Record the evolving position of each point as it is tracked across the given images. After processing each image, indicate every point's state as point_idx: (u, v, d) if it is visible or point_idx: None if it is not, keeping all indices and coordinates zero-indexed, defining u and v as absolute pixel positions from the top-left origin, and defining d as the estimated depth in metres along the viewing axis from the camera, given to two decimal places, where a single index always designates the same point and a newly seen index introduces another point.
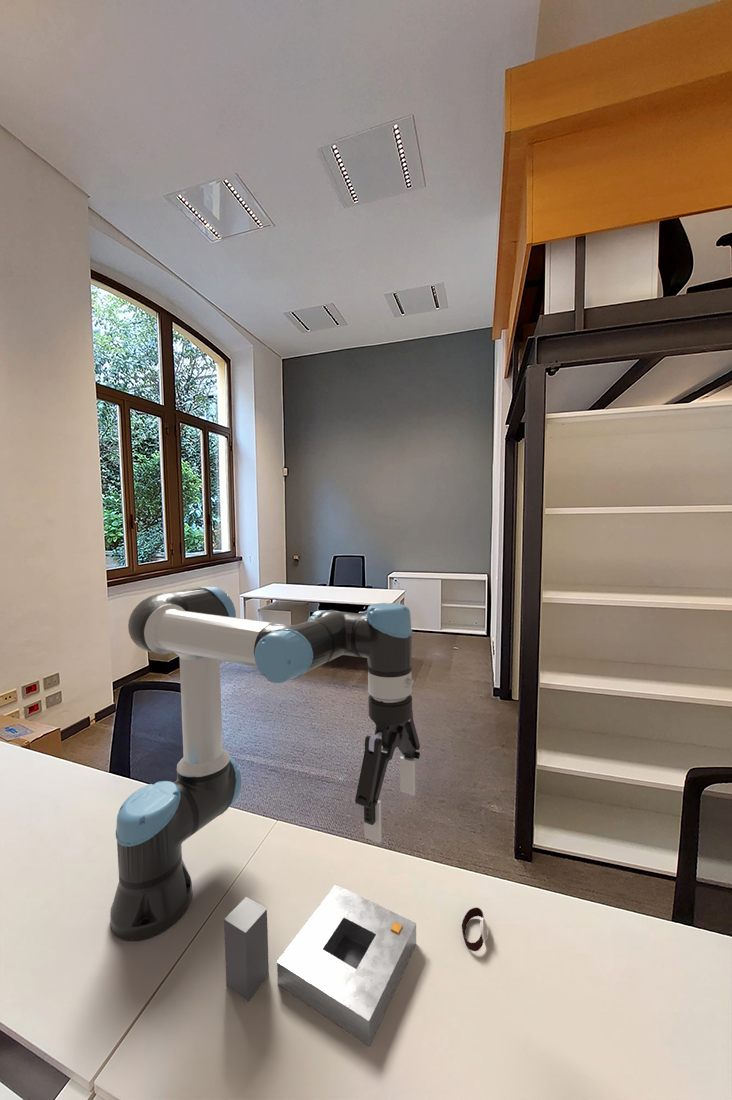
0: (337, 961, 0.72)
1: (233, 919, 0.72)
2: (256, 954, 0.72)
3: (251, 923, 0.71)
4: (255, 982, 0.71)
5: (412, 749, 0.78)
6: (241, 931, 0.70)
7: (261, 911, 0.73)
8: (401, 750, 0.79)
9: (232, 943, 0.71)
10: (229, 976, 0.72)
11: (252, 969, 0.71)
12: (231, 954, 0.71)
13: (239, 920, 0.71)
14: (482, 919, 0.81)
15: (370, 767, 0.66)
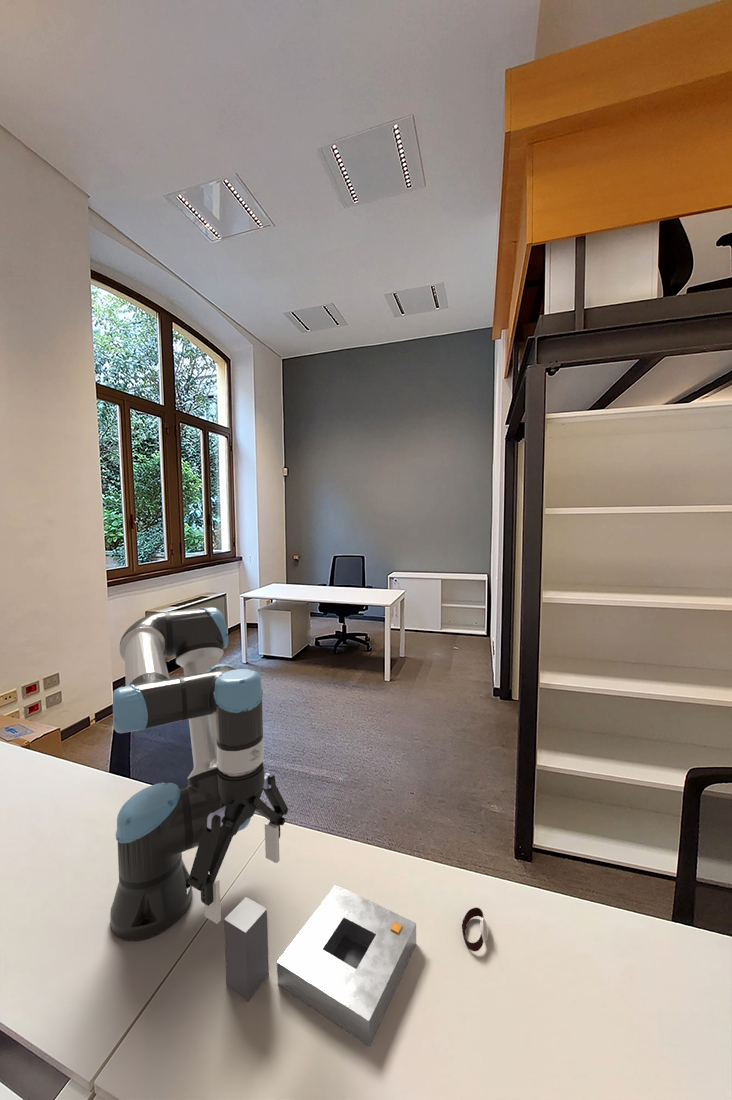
0: (337, 961, 0.72)
1: (233, 919, 0.72)
2: (256, 954, 0.72)
3: (251, 923, 0.71)
4: (255, 982, 0.71)
5: (275, 816, 0.77)
6: (241, 931, 0.70)
7: (261, 911, 0.73)
8: (264, 816, 0.77)
9: (232, 943, 0.71)
10: (229, 976, 0.72)
11: (252, 969, 0.71)
12: (231, 954, 0.71)
13: (239, 920, 0.71)
14: (482, 919, 0.81)
15: (205, 846, 0.65)
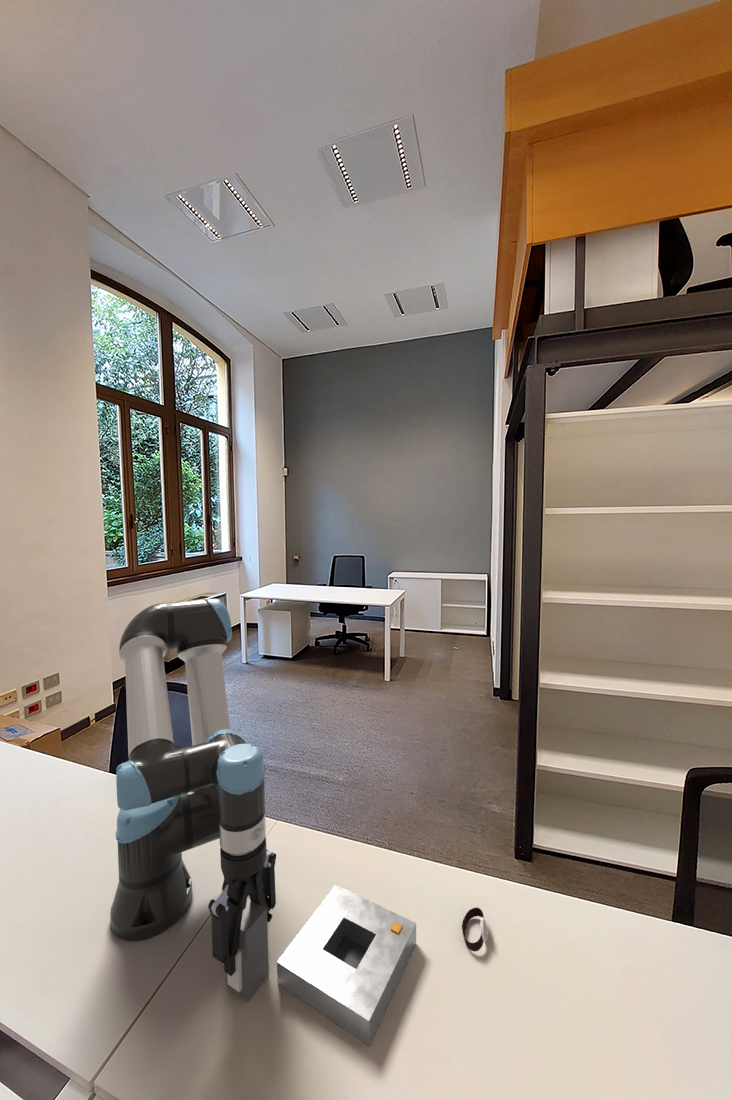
0: (337, 961, 0.72)
1: None
2: (256, 954, 0.72)
3: (251, 923, 0.71)
4: (255, 982, 0.71)
5: (265, 907, 0.75)
6: (241, 931, 0.70)
7: (261, 911, 0.73)
8: None
9: None
10: None
11: (252, 969, 0.71)
12: None
13: None
14: (482, 919, 0.81)
15: (218, 930, 0.67)
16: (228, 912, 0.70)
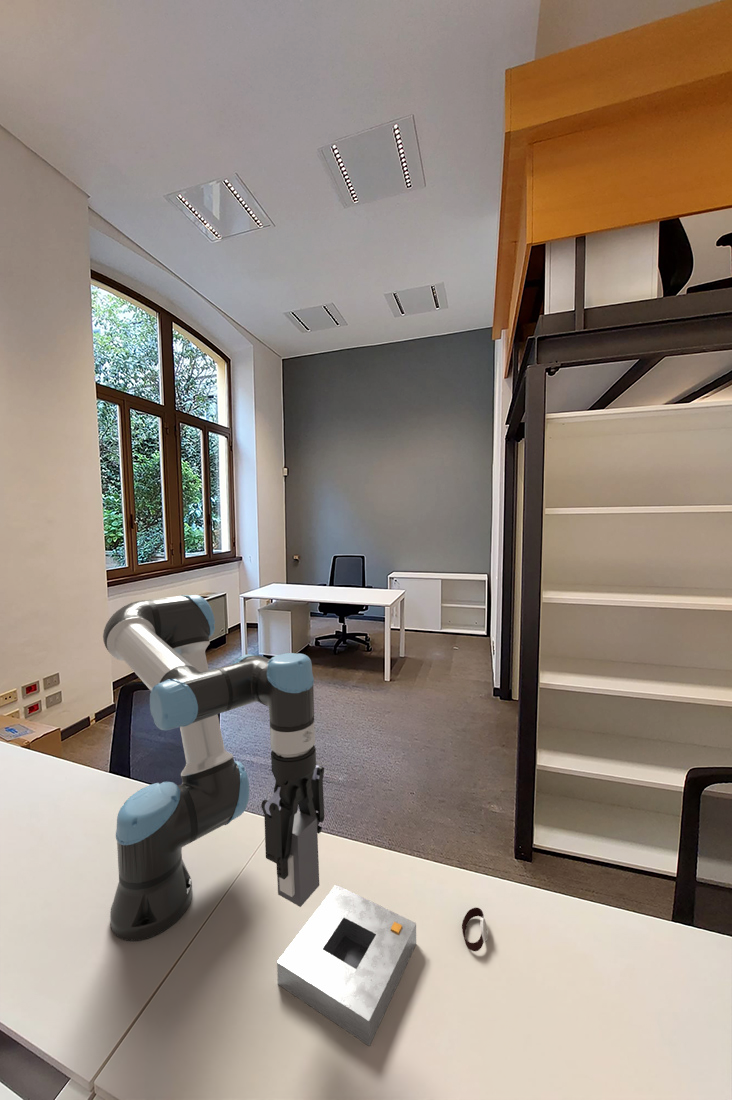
0: (337, 961, 0.72)
1: None
2: (308, 861, 0.71)
3: (302, 829, 0.71)
4: (307, 889, 0.71)
5: None
6: (293, 834, 0.70)
7: (311, 819, 0.73)
8: None
9: None
10: None
11: (304, 875, 0.71)
12: None
13: None
14: (482, 919, 0.81)
15: (271, 830, 0.67)
16: None
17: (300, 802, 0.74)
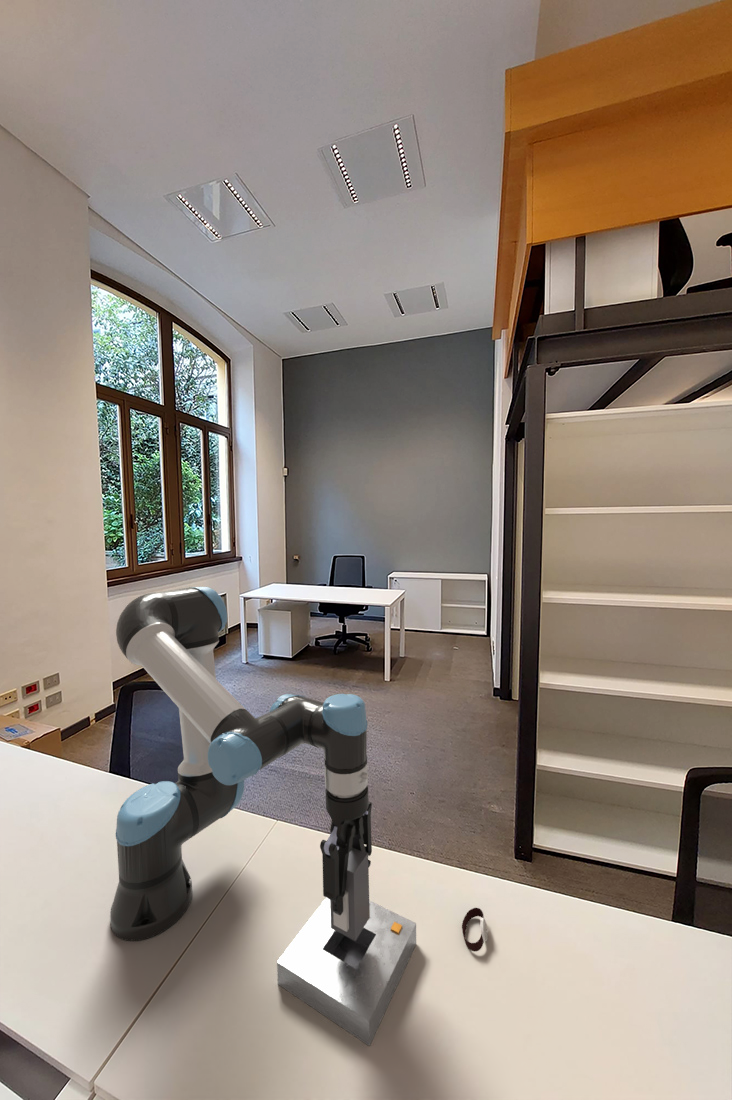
0: (337, 961, 0.72)
1: None
2: (361, 896, 0.74)
3: (356, 865, 0.73)
4: (360, 923, 0.73)
5: None
6: (348, 871, 0.72)
7: (363, 855, 0.75)
8: None
9: None
10: None
11: (358, 910, 0.73)
12: None
13: None
14: (482, 919, 0.81)
15: (330, 869, 0.69)
16: None
17: None
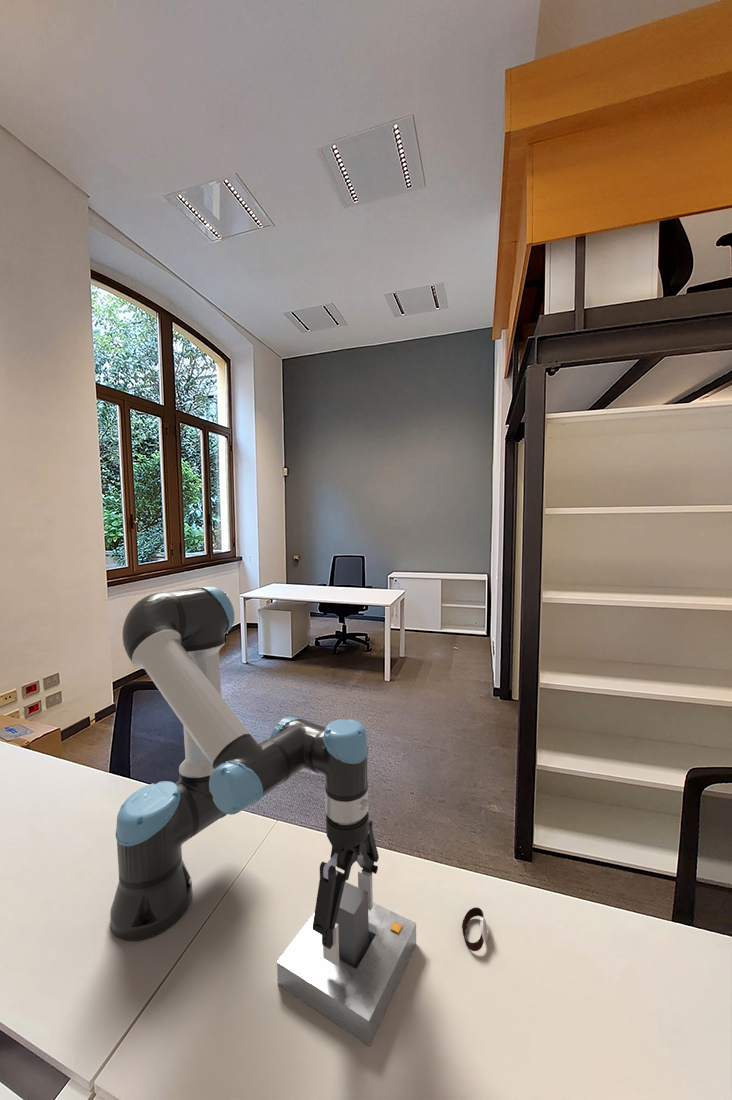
0: None
1: None
2: (361, 935, 0.74)
3: (356, 906, 0.73)
4: None
5: (370, 863, 0.80)
6: (348, 913, 0.72)
7: (363, 894, 0.76)
8: (359, 863, 0.80)
9: (338, 924, 0.74)
10: None
11: (358, 950, 0.73)
12: None
13: (344, 903, 0.74)
14: (482, 919, 0.81)
15: (325, 895, 0.68)
16: None
17: None
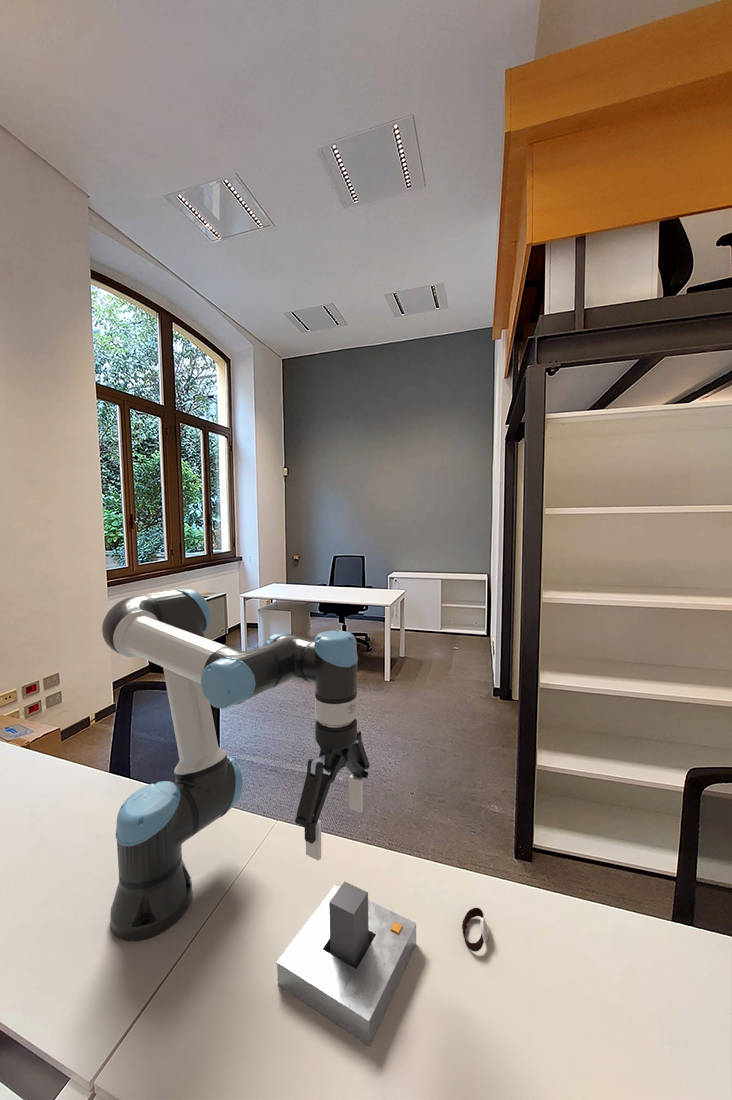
0: (337, 961, 0.72)
1: (338, 902, 0.74)
2: (361, 935, 0.74)
3: (356, 906, 0.73)
4: None
5: (360, 769, 0.82)
6: (348, 913, 0.72)
7: (363, 894, 0.76)
8: (350, 769, 0.83)
9: (338, 924, 0.74)
10: None
11: (358, 950, 0.73)
12: (337, 935, 0.74)
13: (344, 903, 0.74)
14: (482, 919, 0.81)
15: (311, 789, 0.70)
16: None
17: None
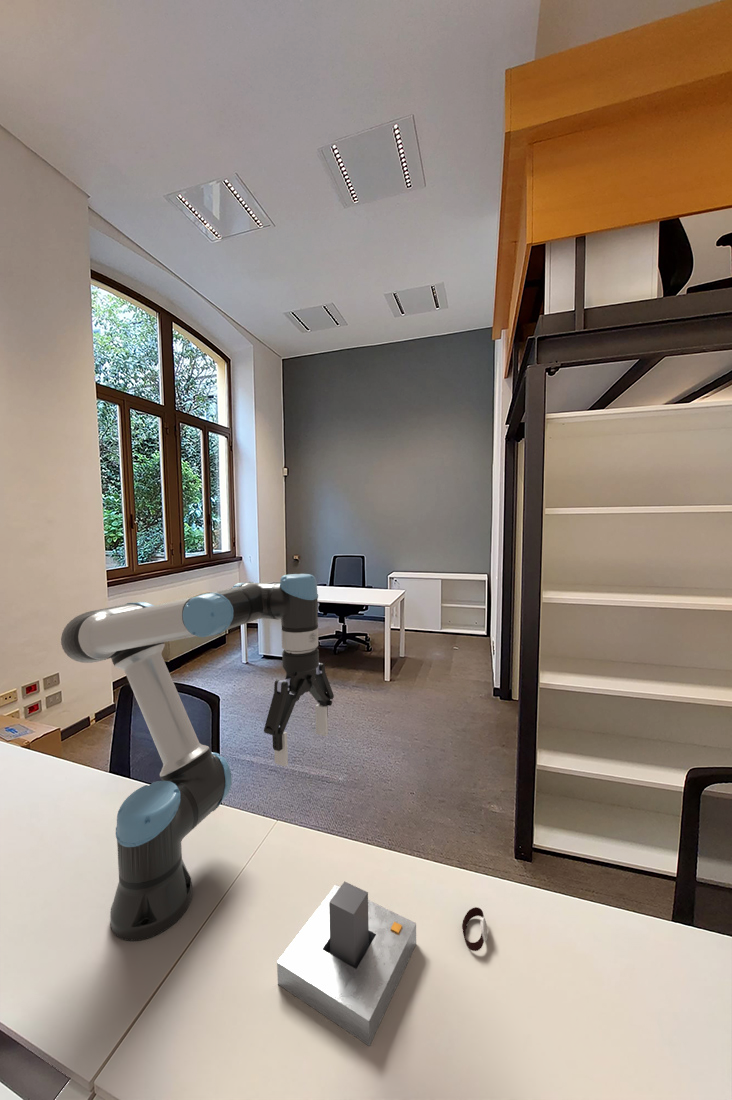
0: (337, 961, 0.72)
1: (338, 902, 0.74)
2: (361, 935, 0.74)
3: (356, 906, 0.73)
4: None
5: (324, 697, 0.94)
6: (348, 913, 0.72)
7: (363, 894, 0.76)
8: (316, 698, 0.94)
9: (338, 924, 0.74)
10: None
11: (358, 950, 0.73)
12: (337, 935, 0.74)
13: (344, 903, 0.74)
14: (482, 919, 0.81)
15: (277, 704, 0.82)
16: None
17: (310, 690, 0.92)
